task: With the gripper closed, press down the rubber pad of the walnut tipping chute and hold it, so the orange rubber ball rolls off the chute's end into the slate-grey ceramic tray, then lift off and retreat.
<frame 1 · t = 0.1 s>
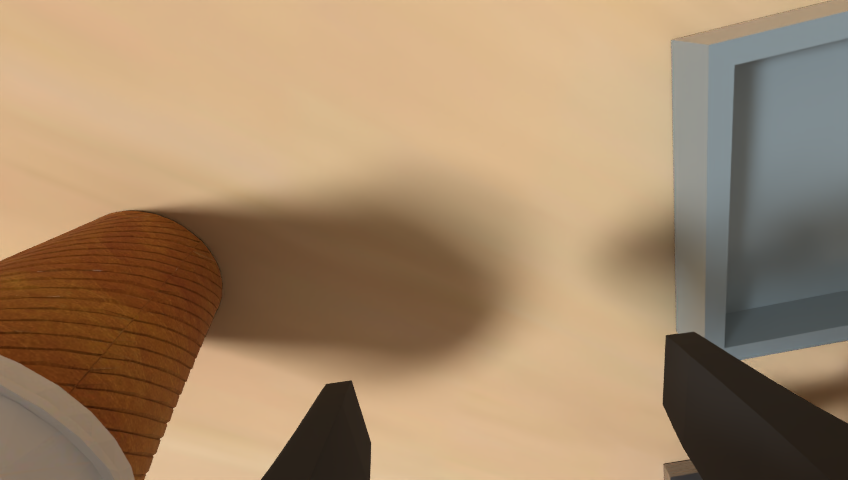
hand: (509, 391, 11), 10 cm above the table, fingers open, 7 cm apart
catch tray: (840, 169, 19), on the table
chute stand: (798, 472, 27), on the table
disposable coffee cup: (152, 273, 22), on the table
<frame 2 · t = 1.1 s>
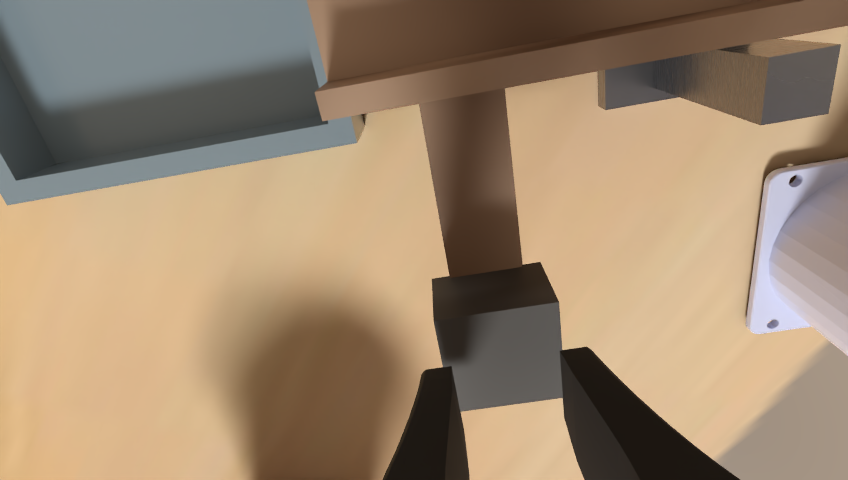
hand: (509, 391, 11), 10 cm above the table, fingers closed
tipping chute: (790, 4, 10), point 8 cm above the table, hinge at 0.0°, touching ball
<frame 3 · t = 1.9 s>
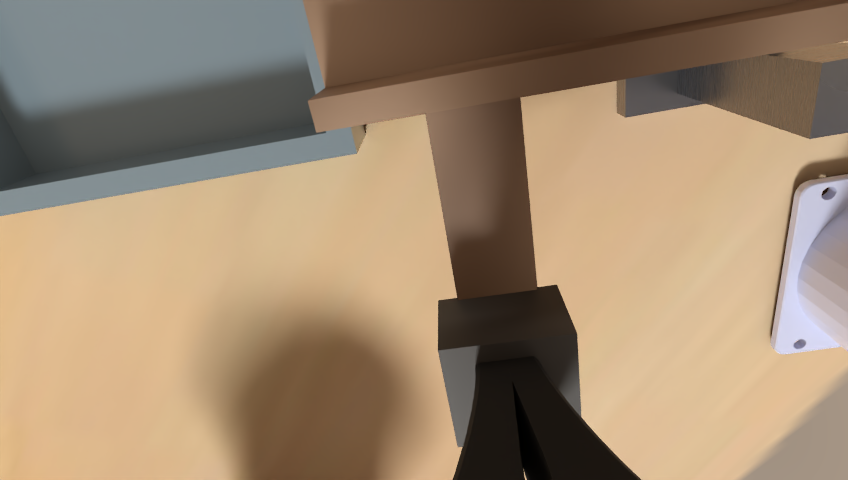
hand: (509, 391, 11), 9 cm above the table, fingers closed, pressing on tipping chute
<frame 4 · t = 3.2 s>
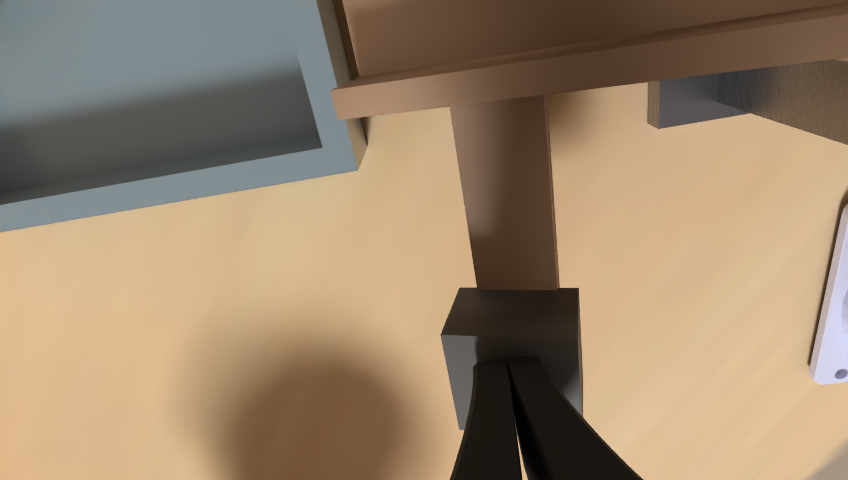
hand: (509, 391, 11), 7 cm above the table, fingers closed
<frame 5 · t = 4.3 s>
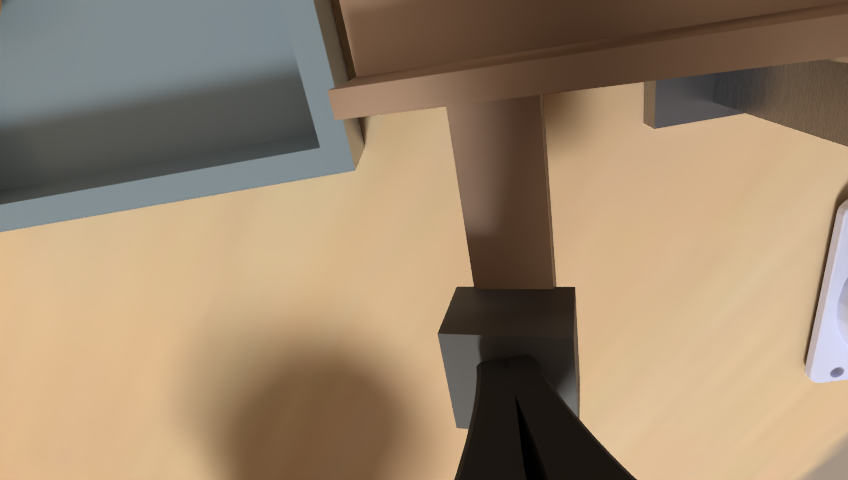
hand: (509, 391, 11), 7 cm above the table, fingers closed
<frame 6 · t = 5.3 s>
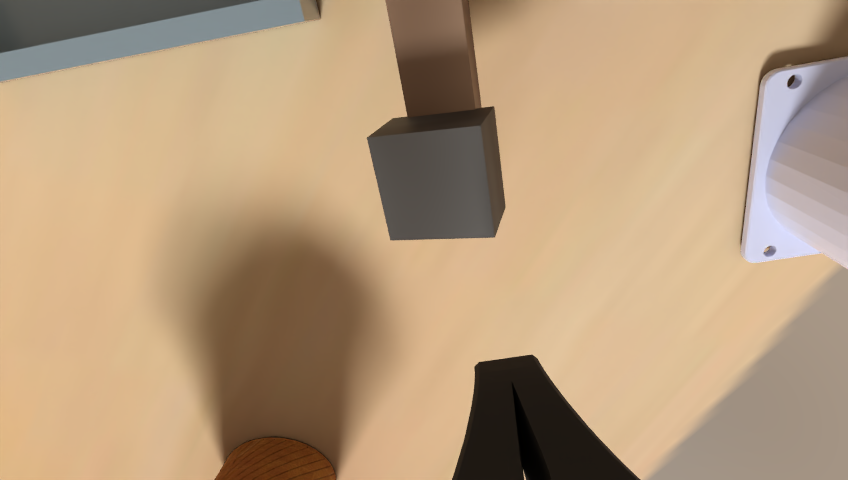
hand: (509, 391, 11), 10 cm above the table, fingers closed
disposable coffee cup: (281, 473, 28), on the table
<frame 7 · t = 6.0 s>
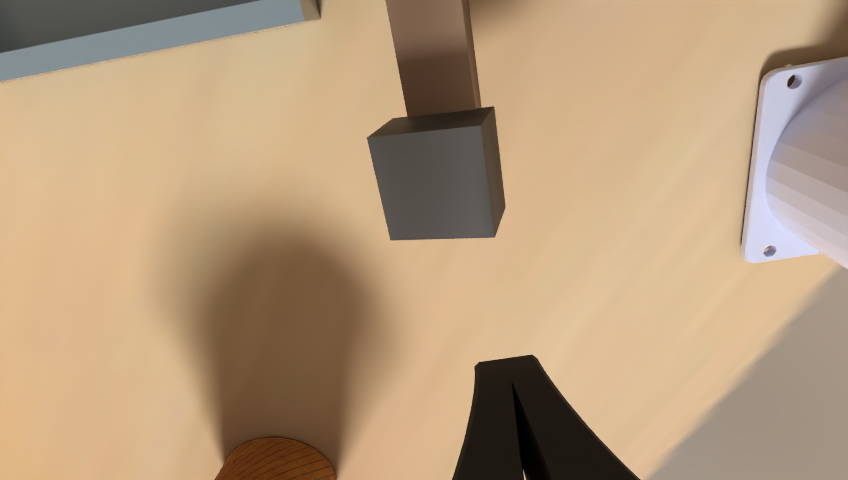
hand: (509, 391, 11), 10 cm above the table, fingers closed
disposable coffee cup: (281, 473, 28), on the table
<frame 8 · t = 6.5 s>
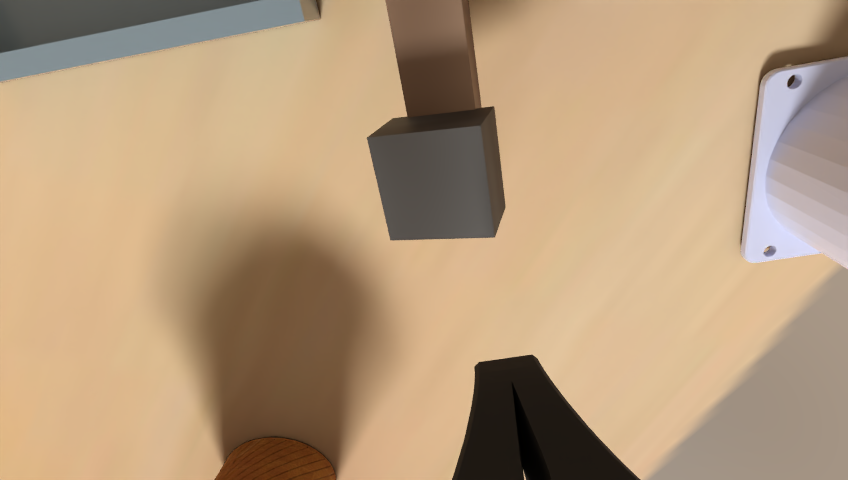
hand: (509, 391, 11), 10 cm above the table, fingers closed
disposable coffee cup: (281, 473, 28), on the table
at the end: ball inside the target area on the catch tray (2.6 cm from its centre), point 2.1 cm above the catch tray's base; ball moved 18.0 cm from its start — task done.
